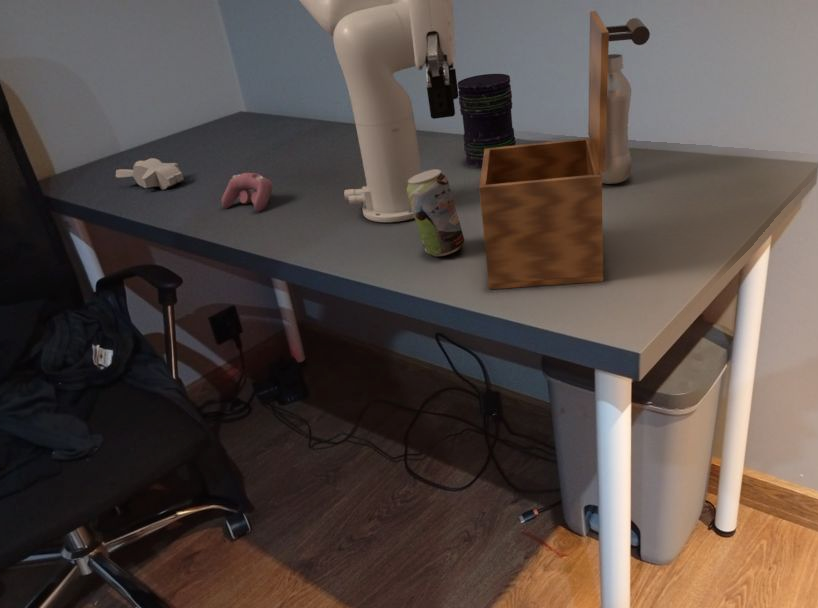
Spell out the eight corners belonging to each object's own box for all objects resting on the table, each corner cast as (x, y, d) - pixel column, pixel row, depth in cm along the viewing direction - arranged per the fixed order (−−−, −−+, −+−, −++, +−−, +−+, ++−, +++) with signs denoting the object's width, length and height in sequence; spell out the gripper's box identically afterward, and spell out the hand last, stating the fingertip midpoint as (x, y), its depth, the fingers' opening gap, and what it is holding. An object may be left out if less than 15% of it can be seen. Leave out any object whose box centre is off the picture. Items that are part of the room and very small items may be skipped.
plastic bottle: (603, 191, 120) (601, 63, 110) (585, 179, 126) (581, 57, 116) (639, 182, 121) (640, 55, 111) (619, 171, 127) (619, 50, 117)
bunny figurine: (156, 176, 149) (106, 164, 156) (162, 199, 152) (113, 186, 159) (190, 160, 156) (141, 150, 162) (195, 183, 159) (147, 172, 165)
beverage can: (461, 259, 105) (451, 179, 99) (412, 261, 107) (399, 182, 101) (468, 241, 110) (459, 164, 104) (421, 243, 112) (409, 167, 106)
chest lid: (601, 32, 78) (657, 27, 78) (589, 11, 91) (637, 6, 91) (598, 172, 86) (649, 169, 86) (588, 134, 100) (632, 131, 99)
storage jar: (472, 152, 147) (464, 75, 140) (520, 150, 145) (515, 71, 137) (460, 169, 140) (451, 88, 132) (511, 167, 137) (504, 84, 129)
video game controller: (274, 213, 137) (277, 175, 136) (257, 211, 133) (260, 172, 132) (236, 209, 142) (239, 172, 141) (218, 207, 138) (221, 169, 137)
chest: (489, 289, 96) (479, 187, 89) (493, 241, 109) (484, 148, 102) (603, 281, 94) (601, 176, 87) (593, 232, 107) (591, 137, 100)
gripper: (405, -33, 99) (423, 97, 108) (389, -20, 85) (412, 128, 94) (460, -41, 98) (474, 90, 107) (453, -30, 84) (470, 120, 92)
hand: (445, 107), depth 100 cm, fingers open, 9 cm apart
